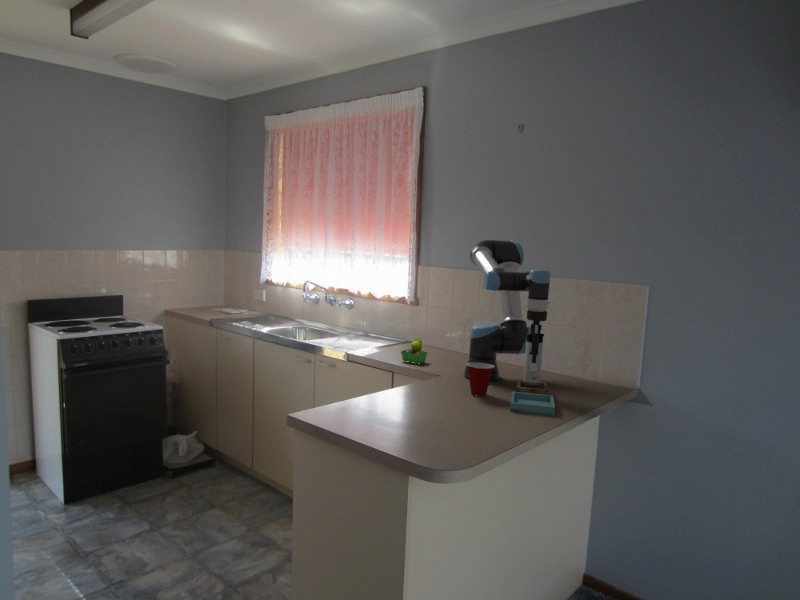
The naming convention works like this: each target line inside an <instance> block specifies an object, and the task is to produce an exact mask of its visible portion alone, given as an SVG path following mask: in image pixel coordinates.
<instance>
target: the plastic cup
mask: <svg viewBox="0 0 800 600" xmlns="http://www.w3.org/2000/svg"><path fill="white" fill-rule="evenodd" d="M466 365H467V367H468V372H469V379H468V380H469V387H470V395H472V394H473V395H472V396H474V395H477V396H476V397H486V396H487V392H488V389H489V385H490V382H491V381H490V377H491V373H492V370H493V368H494V366H493V365H490V364H485V363H468V362H466ZM466 365H465V366H466Z"/></svg>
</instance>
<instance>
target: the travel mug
mask: <svg viewBox="0 0 800 600" xmlns="http://www.w3.org/2000/svg"><path fill="white" fill-rule="evenodd" d="M544 336H545V333H540V337H539V347H538V352H539V353H538V362H537V371H530V357H531V354H529V352H531V349H532V336H531V334H529V335H527V340H526V353H525V354H524V355H525V356H524V357H525V358H524V370H523V381H524V383H525V384H527V385H539V384H540V382H541V373H542V361H543V346H544V345H543V343H544ZM533 351H535V350H533Z"/></svg>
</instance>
